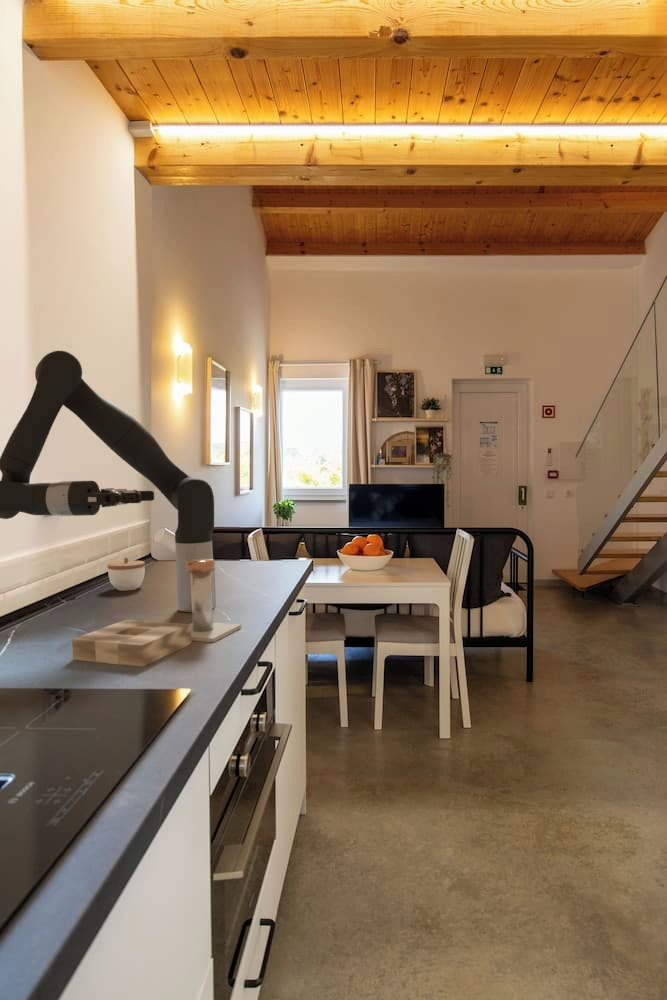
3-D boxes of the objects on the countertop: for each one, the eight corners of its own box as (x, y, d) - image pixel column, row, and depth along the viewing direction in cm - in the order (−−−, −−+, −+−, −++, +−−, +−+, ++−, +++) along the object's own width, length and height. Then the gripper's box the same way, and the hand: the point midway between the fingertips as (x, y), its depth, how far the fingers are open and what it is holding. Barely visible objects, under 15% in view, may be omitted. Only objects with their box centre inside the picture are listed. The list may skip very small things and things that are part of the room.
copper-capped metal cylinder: (198, 625, 147) (196, 558, 146) (222, 626, 145) (219, 559, 144) (183, 631, 141) (180, 562, 141) (207, 633, 139) (205, 563, 138)
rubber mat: (194, 624, 151) (194, 621, 151) (241, 628, 147) (241, 624, 147) (164, 638, 140) (163, 634, 140) (213, 642, 136) (213, 638, 136)
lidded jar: (153, 587, 200) (152, 556, 200) (125, 593, 191) (123, 561, 191) (129, 584, 206) (128, 554, 205) (100, 590, 197) (99, 559, 196)
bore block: (126, 638, 141) (125, 619, 140) (191, 643, 135) (190, 624, 135) (73, 659, 126) (71, 639, 125) (143, 666, 120) (142, 645, 120)
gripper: (57, 482, 135) (135, 480, 135) (86, 480, 150) (156, 478, 149) (59, 518, 136) (137, 516, 135) (88, 513, 150) (158, 511, 149)
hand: (147, 496), depth 142 cm, fingers open, 8 cm apart
